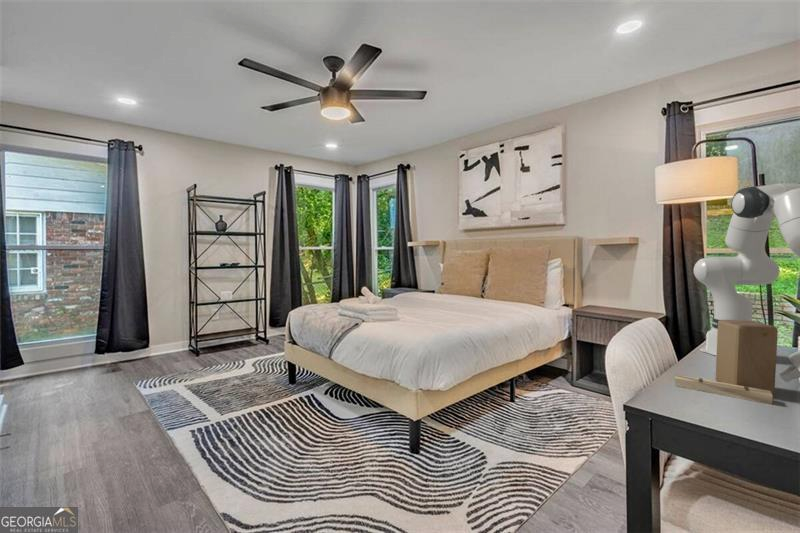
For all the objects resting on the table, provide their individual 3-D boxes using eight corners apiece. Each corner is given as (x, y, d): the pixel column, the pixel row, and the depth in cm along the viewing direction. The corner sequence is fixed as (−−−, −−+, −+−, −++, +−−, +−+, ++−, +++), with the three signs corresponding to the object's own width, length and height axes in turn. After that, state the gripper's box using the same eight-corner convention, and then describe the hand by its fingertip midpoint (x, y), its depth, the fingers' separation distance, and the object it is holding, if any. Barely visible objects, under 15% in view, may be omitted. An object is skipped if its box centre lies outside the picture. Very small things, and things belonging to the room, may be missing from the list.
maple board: (675, 382, 115) (676, 374, 115) (770, 399, 102) (770, 390, 102) (674, 385, 112) (675, 377, 112) (772, 404, 99) (772, 395, 99)
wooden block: (776, 396, 105) (779, 326, 104) (735, 393, 107) (738, 325, 106) (750, 383, 114) (753, 320, 113) (713, 381, 116) (716, 318, 115)
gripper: (815, 334, 108) (766, 360, 115) (834, 349, 92) (776, 378, 99) (837, 352, 105) (786, 378, 112) (860, 370, 89) (800, 399, 96)
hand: (782, 378), depth 105 cm, fingers closed
